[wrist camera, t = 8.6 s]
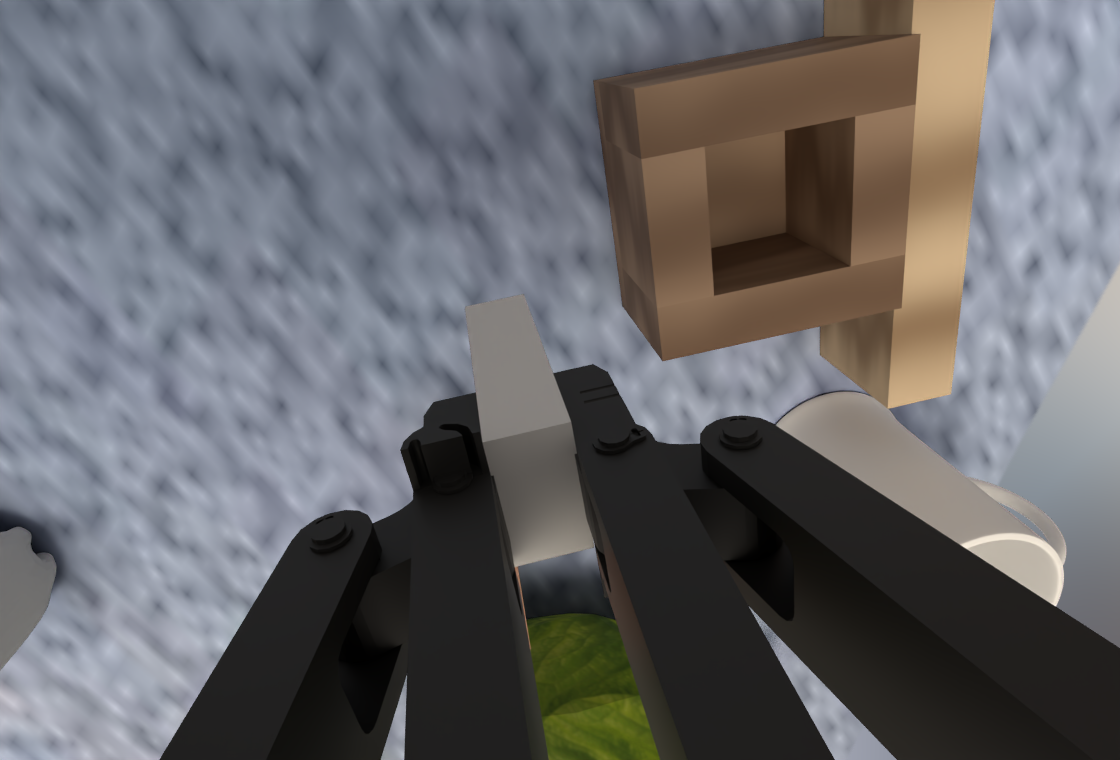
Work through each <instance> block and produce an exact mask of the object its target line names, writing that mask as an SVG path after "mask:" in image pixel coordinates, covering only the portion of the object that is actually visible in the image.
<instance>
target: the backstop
mask: <svg viewBox="0 0 1120 760" xmlns="http://www.w3.org/2000/svg"><path fill="white" fill-rule="evenodd" d="M994 2H995V0H824V37H830V36H863V35H896V34H921V37H920V51H919V65H918V80H917V94H916V109H915V123H914V138H913V152H912V166H911V181H910V195H909V210H908V224H907V239H906V253H905V267H904V282H903V296H902V308H900V309H895V310H891V311H886V312H882V313H877V314H873V315H868V316H864V317H859V318H855V319H850V320H846V321H841V322H837V323H832V324H828V325H823V326H820V355H821V356H822V357H823V358H825V359H826V360H827V361H828V362H830V363H831V364H832V365H833V366H835V367H836V368H837V369H838V370H840V371H841V372H842V373H843V374H845V375H846V376H847V377H848V378H850V379H851V380H852V381H853V382H855V383H856V384H857V385H858V386H860V387H861V388H862V389H863V390H865V391H866V392H867V393H868V394H870V395H871V396H872V397H873V398H875V399H876V400H877V401H878V402H880V403H881V404H882V405H883V406H885V407H886V408H887V409H889V408H893V407H897V406H902V405H906V404H910V403H915V402H919V401H923V400H927V399H932V398H936V397H940V396H945V395H949V394H951V389H952V380H953V371H954V362H955V353H956V344H957V335H958V326H959V317H960V308H961V299H962V290H963V281H964V272H965V263H966V254H967V245H968V236H969V227H970V218H971V209H972V200H973V191H974V182H975V173H976V164H977V155H978V146H979V137H980V128H981V119H982V110H983V101H984V92H985V83H986V74H987V65H988V56H989V47H990V38H991V29H992V20H993V11H994Z"/></svg>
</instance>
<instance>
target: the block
mask: <svg viewBox="0 0 1120 760" xmlns="http://www.w3.org/2000/svg"><path fill="white" fill-rule="evenodd" d="M920 37H921V34H896V35H863V36H830V37H820V38H814V39H809V40H804V41H799V42H793V43H788V44H783V45H778V46H772V47H767V48H762V49H757V50H751V51H746V52H741V53H736V54H730V55H725V56H720V57H715V58H709V59H704V60H699V61H694V62H688V63H683V64H678V65H673V66H667V67H662V68H657V69H652V70H646V71H641V72H636V73H631V74H625V75H620V76H615V77H610V78H604V79H599V80H594V89H595V97H596V105H597V112H598V120H599V128H600V135H601V143H602V151H603V159H604V166H605V174H606V182H607V189H608V197H609V205H610V213H611V220H612V228H613V236H614V243H615V251H616V259H617V267H618V274H619V282H620V290H621V297H622V305H623V307H624V309H625V310H626V311H627V313H628V314H629V316H630V317H631V318H632V320H633V321H634V322H635V324H636V325H637V327H638V328H639V329H640V331H641V332H642V333H643V335H644V336H645V338H646V339H647V340H648V342H649V343H650V344H651V346H652V347H653V349H654V350H655V351H656V353H657V354H658V356H659V357H660V358H661V360H662V361H666V360H670V359H675V358H679V357H684V356H688V355H693V354H697V353H702V352H706V351H711V350H715V349H720V348H724V347H729V346H733V345H738V344H742V343H747V342H751V341H756V340H760V339H765V338H769V337H774V336H778V335H783V334H787V333H792V332H796V331H801V330H805V329H810V328H814V327H819V326H823V325H828V324H832V323H837V322H841V321H846V320H850V319H855V318H859V317H864V316H868V315H873V314H877V313H882V312H886V311H891V310H895V309H900V308H902V296H903V282H904V267H905V253H906V239H907V224H908V210H909V195H910V181H911V166H912V152H913V138H914V123H915V109H916V94H917V80H918V65H919V51H920Z"/></svg>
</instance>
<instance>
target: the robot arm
mask: <svg viewBox="0 0 1120 760" xmlns="http://www.w3.org/2000/svg"><path fill="white" fill-rule="evenodd" d="M465 312H466V320H467V328H468V336H469V343H470V351H471V359H472V366H473V374H474V382H475V389H476V393H472V394H467V395H463V396H459V397H454V398H450V399H445V400H441V401H437V402H433V404H432V405H431V407H430V408H429V409H428V411H427V412H426V414H425V415H424V427H423V428H421V429H419V430H417V431H416V432H414V433H412V434H411V435H410V436H409V437H408V438H407V439H406V440H405V441H404V442H403V445H402V447H401V450H400V451H401V454H402V457H403V460H404V463H405V466H406V469H407V472H408V475H409V478H410V482H411V485H412V488H413V500H412V501H411V502H410V503H409V504H408V505H407V506H405V507H404V508H403V509H401V510H400V511H398V512H396V513H394V514H392V515H390V516H388V517H386V518H384V519H382V520H380V521H377V522H375V523H373V524H372V522H371V520H370V518H369V516H368V515H366V514H364V513H362V512H360V511H353V510H344V511H339V512H334V513H330V514H327V515H324V516H323V517H320V518H318V519H316V520H314V521H313V522H311V523H310V524H308V525H307V526H305V527H304V528H303V529H301V530H300V532H299V533H298V534H297V535H296V536H295V537H294V539H293V540H292V541H291V543H290V544H289V546H288V548H287V549H286V551H285V553H284V554H283V556H282V558H281V559H280V561H279V563H278V564H277V566H276V568H275V569H274V571H273V573H272V574H271V576H270V578H269V579H268V581H267V583H266V584H265V586H264V587H263V589H262V591H261V592H260V594H259V596H258V597H257V599H256V601H255V602H254V604H253V606H252V607H251V609H250V611H249V612H248V614H247V616H246V617H245V619H244V621H243V622H242V624H241V626H240V627H239V629H238V631H237V632H236V634H235V636H234V637H233V639H232V640H231V642H230V644H229V645H228V647H227V649H226V650H225V652H224V654H223V655H222V657H221V659H220V660H219V662H218V664H217V665H216V667H215V669H214V670H213V672H212V674H211V675H210V677H209V679H208V680H207V682H206V684H205V685H204V687H203V689H202V690H201V692H200V694H199V695H198V697H197V698H196V700H195V702H194V703H193V705H192V707H191V708H190V710H189V712H188V713H187V715H186V717H185V718H184V720H183V722H182V723H181V725H180V727H179V728H178V730H177V732H176V733H175V735H174V737H173V738H172V740H171V742H170V743H169V745H168V747H167V748H166V750H165V751H164V753H163V755H162V756H161V758H160V760H381V756H382V753H383V750H384V747H385V743H386V740H387V737H388V734H389V731H390V727H391V724H392V721H393V718H394V714H395V711H396V708H397V705H398V701H399V698H400V695H401V692H402V688H403V685H404V682H405V679H406V675H407V698H406V727H405V757H404V760H549V758H548V752H547V746H546V740H545V734H544V728H543V722H542V716H541V710H540V704H539V699H538V693H537V687H536V681H535V675H534V669H533V663H532V657H531V651H530V645H529V639H528V633H527V627H526V621H525V615H524V609H523V603H522V597H521V592H520V586H519V582H518V578H517V574H516V570H515V567H517V566H521V565H525V564H529V563H533V562H537V561H541V560H545V559H549V558H553V557H557V556H561V555H565V554H570V553H574V552H578V551H582V550H586V549H590V548H594V543H595V548H596V554H597V559H598V565H599V570H600V576H601V581H602V587H603V592H604V597H605V598H607V597H609V600H610V603H611V606H612V610H613V613H614V616H615V619H616V622H617V625H618V628H619V632H620V635H621V638H622V641H623V644H624V647H625V650H626V654H627V657H628V660H629V663H630V666H631V669H632V672H633V676H634V679H635V682H636V685H637V688H638V691H639V695H640V698H641V701H642V704H643V707H644V710H645V713H646V717H647V720H648V723H649V726H650V729H651V732H652V735H653V739H654V742H655V745H656V748H657V751H658V754H659V757H660V760H835V759H834V758H833V756H832V754H831V752H830V751H829V749H828V747H827V745H826V743H825V742H824V740H823V738H822V736H821V735H820V733H819V731H818V729H817V727H816V726H815V724H814V722H813V720H812V719H811V717H810V715H809V713H808V711H807V710H806V708H805V706H804V704H803V702H802V701H801V699H800V697H799V695H798V694H797V692H796V690H795V688H794V686H793V685H792V683H791V681H790V679H789V678H788V676H787V674H786V672H785V670H784V669H783V667H782V665H781V663H780V662H779V660H778V658H777V656H776V654H775V653H774V651H773V649H772V647H771V645H770V644H769V642H768V640H767V638H766V637H765V635H764V633H763V631H762V629H761V628H760V626H759V624H758V622H757V621H756V619H755V617H754V615H753V613H752V612H751V610H750V608H751V609H752V610H753V611H754V612H755V613H756V614H757V615H758V616H759V617H760V618H761V619H762V620H763V621H764V622H765V623H766V624H767V625H768V626H769V627H770V628H771V629H772V630H773V631H774V633H775V634H776V635H777V636H778V637H779V638H780V639H781V640H782V641H783V642H784V643H785V644H786V645H787V646H788V647H789V648H790V649H791V650H792V651H793V652H794V653H795V654H796V655H797V656H798V657H799V658H800V660H801V661H802V662H803V663H804V664H805V665H806V666H807V667H808V668H809V669H810V670H811V671H812V672H813V673H814V674H815V675H816V676H817V677H818V678H819V679H820V680H821V681H822V682H823V683H824V684H825V685H826V687H827V688H828V689H829V690H830V691H831V692H832V693H833V694H834V695H835V696H836V697H837V698H838V699H839V700H840V701H841V702H842V703H843V704H844V705H845V706H846V707H847V708H848V709H849V710H850V711H851V712H852V714H853V715H854V716H855V717H856V718H857V719H858V720H859V721H860V722H861V723H862V724H863V725H864V726H865V727H866V728H867V729H868V730H869V731H870V732H871V733H872V734H873V735H874V736H875V737H876V738H877V739H878V741H879V742H881V744H882V745H883V746H884V747H885V748H886V749H887V750H888V751H889V752H890V753H891V754H892V755H893V756H894V757H895V758H896V759H897V760H1120V648H1119V647H1117V646H1116V645H1114V644H1113V643H1111V642H1109V641H1108V640H1106V639H1105V638H1103V637H1102V636H1100V635H1099V634H1097V633H1096V632H1094V631H1092V630H1091V629H1089V628H1088V627H1086V626H1084V625H1083V624H1082V623H1080V622H1079V621H1077V620H1076V619H1074V618H1072V617H1071V616H1069V615H1068V614H1066V613H1065V612H1063V611H1062V610H1060V609H1059V608H1057V607H1055V606H1054V605H1052V604H1051V603H1049V602H1048V601H1046V600H1045V599H1043V598H1042V597H1040V596H1038V595H1037V594H1035V593H1034V592H1032V591H1031V590H1029V589H1028V588H1026V587H1025V586H1023V585H1021V584H1020V583H1018V582H1017V581H1015V580H1014V579H1012V578H1011V577H1009V576H1008V575H1006V574H1004V573H1003V572H1001V571H1000V570H998V569H997V568H995V567H994V566H992V565H991V564H989V563H988V562H986V561H984V560H983V559H981V558H980V557H978V556H977V555H975V554H974V553H972V552H971V551H969V550H967V549H966V548H964V547H963V546H961V545H960V544H958V543H957V542H955V541H954V540H952V539H950V538H949V537H947V536H946V535H944V534H943V533H941V532H940V531H938V530H937V529H935V528H933V527H932V526H930V525H929V524H927V523H926V522H924V521H923V520H921V519H920V518H918V517H916V516H915V515H913V514H912V513H910V512H909V511H907V510H906V509H904V508H903V507H901V506H900V505H898V504H896V503H895V502H893V501H892V500H890V499H889V498H887V497H886V496H884V495H883V494H881V493H879V492H878V491H876V490H875V489H873V488H872V487H870V486H869V485H867V484H866V483H864V482H862V481H861V480H859V479H858V478H856V477H855V476H853V475H852V474H850V473H849V472H847V471H845V470H844V469H842V468H841V467H839V466H838V465H836V464H835V463H833V462H832V461H830V460H828V459H827V458H825V457H824V456H822V455H821V454H819V453H818V452H816V451H815V450H813V449H812V448H810V447H808V446H807V445H805V444H804V443H802V442H801V441H799V440H798V439H796V438H795V437H793V436H791V435H790V434H788V433H787V432H785V431H784V430H782V429H781V428H779V427H778V426H776V425H774V424H773V423H771V422H768V421H766V420H764V419H761V418H756V417H750V416H731V417H727V418H723V419H719V420H716V421H715V422H713V423H711V424H709V425H708V426H706V427H705V429H704V430H703V431H702V433H701V434H700V444H667V443H661V442H657V441H655V439H654V437H653V435H652V434H651V433H650V432H649V431H648V430H647V429H646V428H645V427H643V426H640V425H637V424H636V423H635V422H634V420H633V418H632V416H631V414H630V412H629V411H628V409H627V407H626V405H625V403H624V401H623V399H622V398H621V396H620V395H619V392H618V390H617V388H616V386H614V383H613V381H612V379H611V377H610V375H609V374H608V372H606V371H605V370H603V369H601V368H599V367H597V366H595V365H594V364H592V365H588V366H583V367H579V368H574V369H570V370H566V371H561V372H557V373H553V372H552V369H551V366H550V364H549V361H548V358H547V356H546V353H545V350H544V348H543V345H542V342H541V340H540V337H539V334H538V331H537V329H536V326H535V323H534V321H533V318H532V315H531V313H530V310H529V307H528V305H527V302H526V299H525V297H524V294H521V295H517V296H512V297H508V298H503V299H498V300H494V301H489V302H485V303H480V304H475V305H471V306H466V307H465ZM592 537H593V538H592ZM593 540H594V543H593ZM747 604H748V605H747ZM749 607H750V608H749Z"/></svg>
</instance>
